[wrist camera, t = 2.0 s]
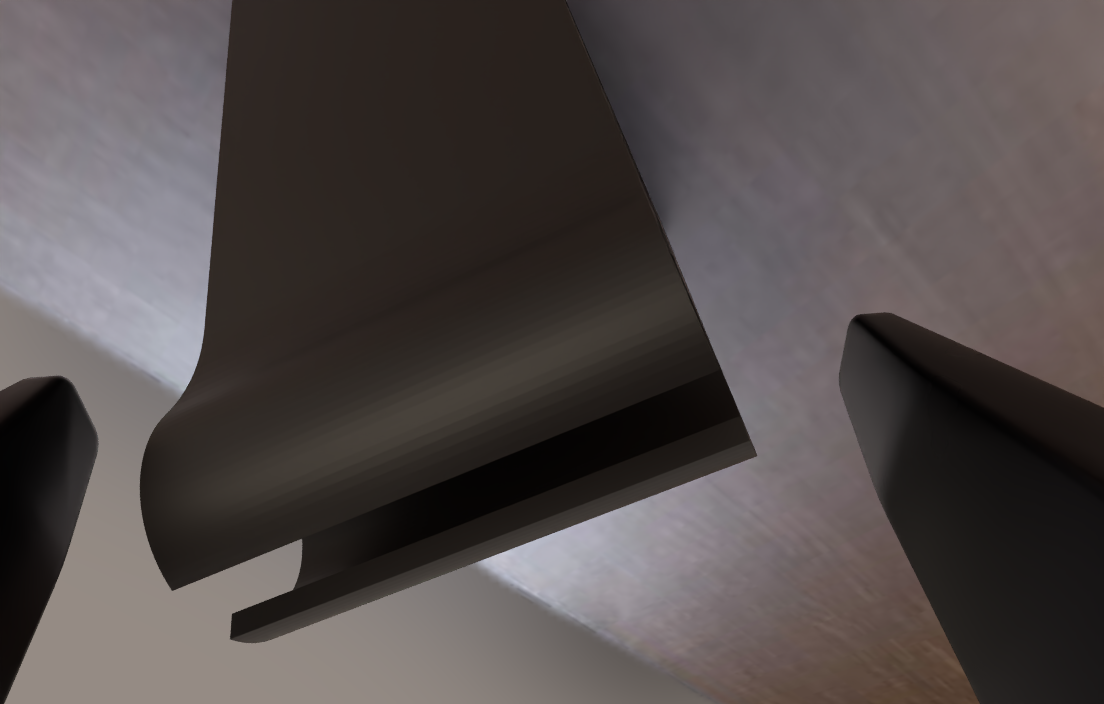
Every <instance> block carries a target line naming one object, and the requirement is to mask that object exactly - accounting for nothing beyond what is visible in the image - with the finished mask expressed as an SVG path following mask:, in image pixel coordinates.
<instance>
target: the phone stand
mask: <svg viewBox="0 0 1104 704" xmlns="http://www.w3.org/2000/svg"><path fill="white" fill-rule="evenodd" d="M756 456H757V454H756V451H755V449H754V446H753V444H752V442H751V439H750V437H749V434H748V432H747V429H746V427H745V425H744V422H743V420H742V417H741V415H740V413H739V410H738V408H737V406H736V403H735V401H734V398H733V396H732V394H731V391H730V389H729V387H728V384H727V382H726V379H725V377H724V375H723V372H722V370H721V367H720V365H719V363H718V360H717V358H716V355H715V353H714V351H713V348H712V346H711V343H710V341H709V339H708V336H707V334H706V331H705V329H704V326H703V324H702V321H701V319H700V316H699V314H698V312H697V309H696V307H695V304H694V302H693V299H692V297H691V294H690V292H689V289H688V287H687V284H686V282H685V279H684V277H683V274H682V272H681V270H680V267H679V265H678V262H677V260H676V257H675V255H674V252H673V250H672V247H671V245H670V242H669V240H668V238H667V235H666V233H665V231H664V228H663V226H662V224H661V221H660V219H659V217H658V214H657V212H656V210H655V207H654V205H653V203H652V200H651V198H650V196H649V193H648V191H647V189H646V186H645V184H644V182H643V179H642V177H641V175H640V172H639V170H638V168H637V165H636V163H635V161H634V158H633V156H632V154H631V151H630V149H629V147H628V144H627V142H626V140H625V137H624V135H623V133H622V130H621V128H620V126H619V123H618V121H617V119H616V116H615V114H614V112H613V110H612V107H611V105H610V103H609V100H608V98H607V96H606V93H605V91H604V89H603V86H602V84H601V82H600V79H599V77H598V75H597V72H596V70H595V68H594V65H593V63H592V61H591V58H590V56H589V54H588V51H587V49H586V47H585V44H584V42H583V40H582V37H581V35H580V33H579V30H578V28H577V26H576V23H575V21H574V19H573V16H572V14H571V12H570V9H569V7H568V5H567V2H566V0H232V11H231V22H230V34H229V46H228V58H227V70H226V82H225V93H224V105H223V117H222V129H221V141H220V152H219V164H218V176H217V188H216V200H215V211H214V223H213V235H212V247H211V259H210V271H209V282H208V294H207V306H206V318H205V329H204V338H203V344H202V349H201V353H200V357H199V361H198V363H197V366H196V369H195V372H194V374H193V376H192V379H191V381H190V383H189V384H188V386H187V388H186V390H185V391H184V393H183V394H182V396H181V398H180V399H179V400H178V401H177V403H176V404H175V405H174V406H173V408H172V409H171V410H170V411H169V412H168V413H167V414H166V415H165V416H164V417H163V418H162V419H161V420H160V422H159V423H158V424H157V426H156V427H155V429H154V430H153V432H152V434H151V436H150V438H149V441H148V443H147V446H146V449H145V452H144V456H143V461H142V466H141V475H140V501H141V510H142V517H143V522H144V526H145V531H146V535H147V538H148V541H149V544H150V547H151V550H152V553H153V555H154V558H155V560H156V562H157V565H158V567H159V569H160V571H161V572H162V575H163V577H164V578H165V580H166V582H167V583H168V585H169V587H170V588H171V590H172V591H173V590H176V589H178V588H181V587H183V586H186V585H188V584H190V583H193V582H196V581H198V580H200V579H203V578H205V577H208V576H210V575H213V574H215V573H218V572H220V571H223V570H225V569H228V568H230V567H233V566H235V565H237V564H240V563H242V562H245V561H247V560H250V559H252V558H255V557H257V556H260V555H262V554H264V553H267V552H270V551H272V550H275V549H277V548H280V547H282V546H284V545H287V544H289V543H292V542H294V541H297V540H299V539H302V543H303V545H302V546H303V547H302V562H301V568H300V573H299V577H298V579H297V582H296V585H295V587H294V589H293V590H292V591H290V592H287V593H285V594H282V595H279V596H277V597H274V598H272V599H269V600H267V601H264V602H261V603H259V604H256V605H254V606H251V607H248V608H246V609H243V610H241V611H238V612H236V613H233V614H232V621H231V635H230V639H231V640H235V641H238V642H244V643H259V642H265V641H268V640H271V639H274V638H277V637H279V636H282V635H285V634H287V633H290V632H293V631H295V630H298V629H300V628H303V627H306V626H308V625H311V624H314V623H316V622H319V621H321V620H324V619H327V618H329V617H332V616H335V615H338V614H340V613H343V612H346V611H348V610H351V609H354V608H356V607H359V606H361V605H364V604H367V603H369V602H372V601H375V600H377V599H380V598H383V597H385V596H388V595H391V594H393V593H396V592H398V591H401V590H404V589H406V588H409V587H412V586H414V585H417V584H420V583H422V582H425V581H428V580H430V579H433V578H436V577H438V576H441V575H443V574H446V573H449V572H452V571H454V570H457V569H459V568H462V567H465V566H467V565H470V564H473V563H475V562H478V561H481V560H483V559H486V558H489V557H491V556H494V555H497V554H499V553H502V552H504V551H507V550H510V549H512V548H515V547H518V546H520V545H523V544H526V543H528V542H531V541H534V540H536V539H539V538H542V537H544V536H547V535H549V534H552V533H555V532H557V531H560V530H563V529H565V528H568V527H571V526H573V525H576V524H579V523H581V522H584V521H587V520H589V519H592V518H595V517H597V516H600V515H602V514H605V513H608V512H610V511H613V510H616V509H618V508H621V507H624V506H626V505H629V504H632V503H634V502H637V501H640V500H642V499H645V498H647V497H650V496H653V495H655V494H658V493H661V492H663V491H666V490H669V489H671V488H674V487H677V486H679V485H682V484H685V483H687V482H690V481H692V480H695V479H698V478H700V477H703V476H706V475H708V474H711V473H714V472H716V471H719V470H722V469H724V468H727V467H730V466H732V465H735V464H738V463H740V462H743V461H745V460H748V459H751V458H753V457H756Z"/></svg>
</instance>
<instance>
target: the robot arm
mask: <svg viewBox="0 0 1104 704" xmlns="http://www.w3.org/2000/svg"><path fill="white" fill-rule="evenodd" d="M839 386H840V391H841V395H842V397H843V400H844V403H845V406H846V409H847V412H848V414H849V417H850V420H851V423H852V426H853V429H854V431H855V434H856V437H857V440H858V443H859V446H860V448H861V451H862V454H863V457H864V460H865V463H866V465H867V468H868V471H869V474H870V477H871V480H872V482H873V485H874V487H875V490H876V493H877V495H878V498H879V500H880V502H881V504H882V507H883V509H884V511H885V513H886V515H887V517H888V519H889V521H890V523H891V525H892V527H893V529H894V531H895V533H896V535H897V537H898V539H899V541H900V543H901V545H902V547H903V549H904V552H905V554H906V556H907V558H908V560H909V562H910V564H911V566H912V568H913V570H914V572H915V574H916V576H917V578H918V580H919V582H920V584H921V586H922V588H923V590H924V592H925V594H926V596H927V598H928V600H929V602H930V604H931V606H932V608H933V610H934V612H935V614H936V616H937V618H938V620H939V622H940V624H941V626H942V628H943V630H944V632H945V634H946V636H947V638H948V640H949V642H950V644H951V646H952V648H953V650H954V652H955V654H956V656H957V658H958V660H959V662H960V664H961V666H962V668H963V670H964V672H965V674H966V676H967V678H968V680H969V682H970V684H971V686H972V688H973V690H974V692H975V694H976V696H977V699H978V701H979V703H980V704H1104V408H1103V407H1101V406H1099V405H1096V404H1094V403H1092V402H1090V401H1087V400H1085V399H1083V398H1081V397H1078V396H1076V395H1074V394H1072V393H1069V392H1067V391H1065V390H1063V389H1061V388H1058V387H1056V386H1054V385H1052V384H1049V383H1047V382H1045V381H1043V380H1040V379H1038V378H1036V377H1034V376H1031V375H1029V374H1027V373H1025V372H1022V371H1020V370H1018V369H1016V368H1013V367H1011V366H1009V365H1007V364H1004V363H1002V362H1000V361H998V360H995V359H993V358H991V357H989V356H986V355H984V354H982V353H980V352H977V351H975V350H973V349H971V348H968V347H966V346H964V345H962V344H960V343H957V342H955V341H953V340H951V339H948V338H946V337H944V336H942V335H939V334H937V333H935V332H933V331H930V330H928V329H926V328H924V327H921V326H919V325H917V324H915V323H912V322H910V321H908V320H906V319H903V318H901V317H899V316H897V315H894V314H892V313H886V312H883V313H871V314H860V315H856V316H855V317H854V318H853V319H852V320H851V322H850V324H849V326H848V330H847V335H846V340H845V346H844V351H843V356H842V361H841V366H840V372H839ZM97 452H98V436H97V432H96V429H95V427H94V425H93V423H92V421H91V419H90V417H89V415H88V413H87V411H86V408H85V407H84V404H83V402H82V400H81V398H80V396H79V394H78V392H77V390H76V388H75V386H74V385H73V383H72V382H71V381H70V380H69V379H67V378H65V377H63V376H46V377H34V378H33V377H32V378H27V379H23V380H21V381H19V382H17V383H15V384H13V385H11V386H9V387H7V388H6V389H4V390H2V391H0V704H4V703H5V700H6V698H7V696H8V694H9V691H10V689H11V687H12V684H13V682H14V680H15V677H16V675H17V673H18V670H19V668H20V666H21V663H22V661H23V659H24V656H25V654H26V652H27V649H28V647H29V645H30V642H31V640H32V638H33V635H34V633H35V631H36V629H37V626H38V624H39V622H40V619H41V617H42V615H43V612H44V610H45V607H46V605H47V603H48V601H49V598H50V596H51V594H52V591H53V589H54V587H55V584H56V582H57V579H58V577H59V574H60V571H61V569H62V566H63V564H64V561H65V558H66V555H67V552H68V549H69V545H70V542H71V539H72V536H73V532H74V529H75V526H76V522H77V519H78V515H79V512H80V509H81V506H82V502H83V499H84V496H85V492H86V489H87V486H88V483H89V479H90V475H91V473H92V469H93V466H94V463H95V459H96V456H97Z"/></svg>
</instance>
